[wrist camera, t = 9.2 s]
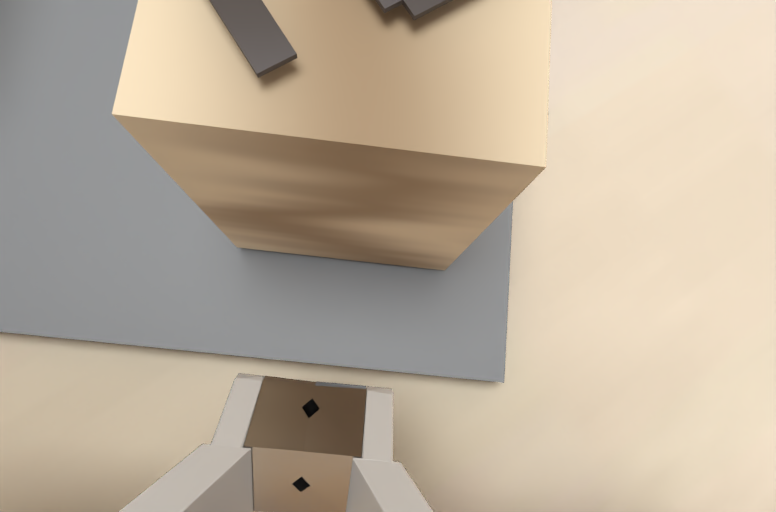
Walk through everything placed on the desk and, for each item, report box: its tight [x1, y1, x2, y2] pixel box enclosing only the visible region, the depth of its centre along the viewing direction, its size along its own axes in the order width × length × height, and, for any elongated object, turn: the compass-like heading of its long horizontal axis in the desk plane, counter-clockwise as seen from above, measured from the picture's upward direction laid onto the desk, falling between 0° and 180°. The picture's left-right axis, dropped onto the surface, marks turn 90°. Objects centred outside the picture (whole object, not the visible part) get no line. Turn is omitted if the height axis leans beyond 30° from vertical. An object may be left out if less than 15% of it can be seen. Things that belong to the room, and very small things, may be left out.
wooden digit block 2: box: [112, 0, 552, 270], centre depth 12 cm, size 6×6×8 cm
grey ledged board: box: [0, 0, 513, 383], centre depth 16 cm, size 24×16×3 cm, turn 85°
